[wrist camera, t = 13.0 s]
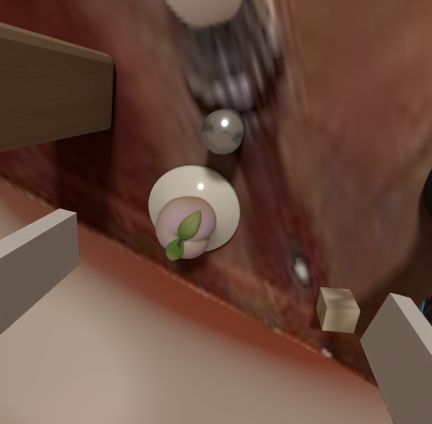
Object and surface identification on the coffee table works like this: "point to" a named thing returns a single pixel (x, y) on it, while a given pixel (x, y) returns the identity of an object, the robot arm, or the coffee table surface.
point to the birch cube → (337, 310)
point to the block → (50, 89)
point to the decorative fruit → (185, 227)
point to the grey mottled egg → (223, 130)
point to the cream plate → (203, 188)
